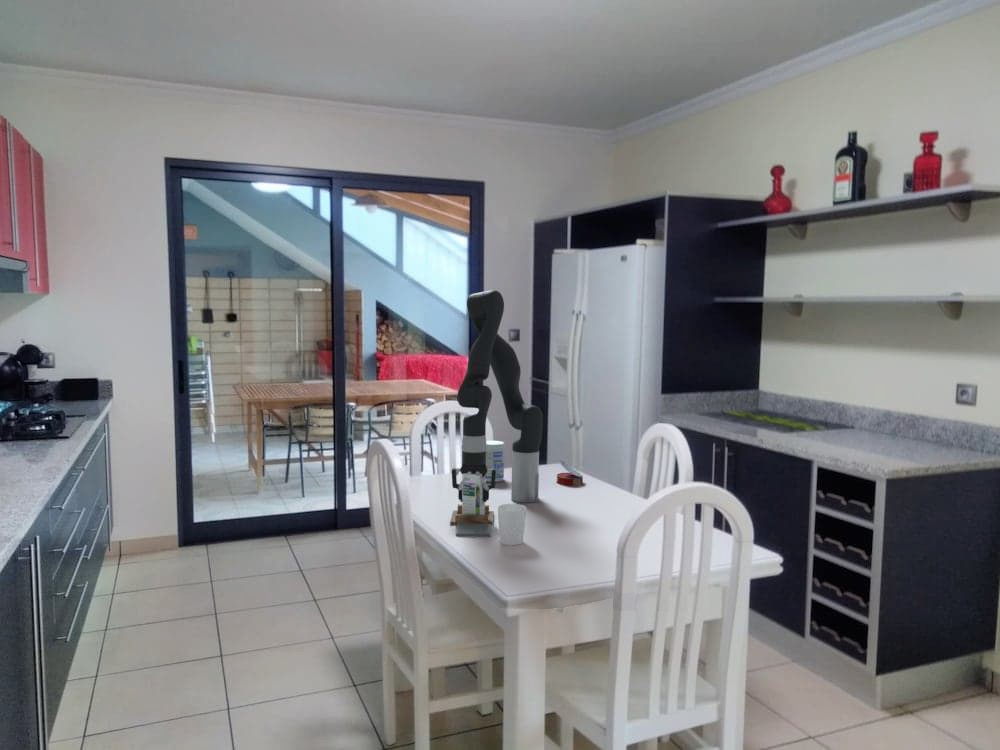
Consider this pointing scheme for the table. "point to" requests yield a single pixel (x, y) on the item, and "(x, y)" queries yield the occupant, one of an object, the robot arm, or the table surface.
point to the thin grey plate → (474, 530)
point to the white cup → (511, 523)
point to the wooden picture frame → (471, 517)
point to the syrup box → (473, 494)
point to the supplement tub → (495, 459)
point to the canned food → (569, 477)
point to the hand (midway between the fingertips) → (473, 501)
